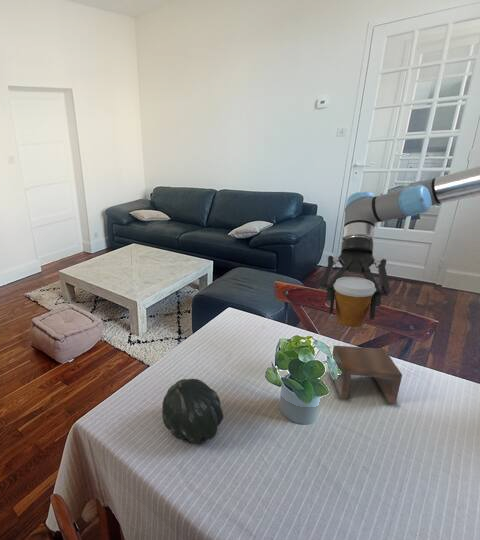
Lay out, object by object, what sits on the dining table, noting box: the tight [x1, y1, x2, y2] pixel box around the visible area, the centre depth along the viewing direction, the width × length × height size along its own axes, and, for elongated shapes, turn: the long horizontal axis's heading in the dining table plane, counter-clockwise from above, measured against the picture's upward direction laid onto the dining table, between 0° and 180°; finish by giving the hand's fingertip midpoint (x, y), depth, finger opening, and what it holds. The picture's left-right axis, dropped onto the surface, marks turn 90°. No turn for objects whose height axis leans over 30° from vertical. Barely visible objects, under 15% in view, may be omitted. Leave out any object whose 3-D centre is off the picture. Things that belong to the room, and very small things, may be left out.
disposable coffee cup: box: [334, 276, 376, 328], centre depth 93 cm, size 10×10×12 cm
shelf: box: [331, 345, 403, 405], centre depth 90 cm, size 12×11×9 cm
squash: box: [161, 378, 224, 444], centre depth 82 cm, size 14×15×15 cm
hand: (351, 315), depth 91 cm, fingers closed on disposable coffee cup, 8 cm apart
